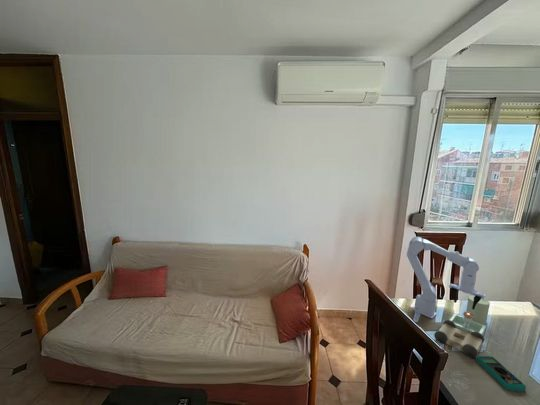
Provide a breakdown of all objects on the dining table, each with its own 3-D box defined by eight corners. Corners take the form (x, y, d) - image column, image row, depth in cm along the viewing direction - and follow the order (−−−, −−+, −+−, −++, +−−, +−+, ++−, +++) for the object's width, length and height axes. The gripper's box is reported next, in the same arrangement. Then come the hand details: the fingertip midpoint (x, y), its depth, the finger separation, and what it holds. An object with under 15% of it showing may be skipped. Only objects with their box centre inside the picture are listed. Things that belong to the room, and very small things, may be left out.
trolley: (433, 339, 116) (435, 329, 115) (443, 326, 126) (444, 318, 125) (476, 360, 104) (477, 349, 103) (483, 344, 113) (485, 335, 113)
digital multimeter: (507, 392, 90) (508, 385, 89) (474, 360, 104) (475, 354, 104) (527, 393, 90) (528, 386, 89) (491, 361, 104) (492, 355, 104)
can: (491, 324, 128) (495, 304, 126) (474, 324, 128) (477, 303, 126) (477, 314, 137) (480, 294, 135) (460, 313, 137) (463, 294, 136)
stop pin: (459, 328, 123) (462, 313, 122) (461, 325, 126) (464, 310, 124) (469, 333, 120) (472, 317, 119) (471, 329, 123) (474, 314, 121)
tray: (447, 327, 125) (448, 321, 125) (453, 319, 132) (454, 313, 131) (479, 341, 115) (481, 335, 115) (484, 332, 122) (485, 326, 122)
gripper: (449, 278, 128) (445, 301, 130) (484, 289, 117) (480, 314, 119) (452, 274, 133) (449, 297, 135) (487, 285, 122) (483, 309, 124)
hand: (464, 305), depth 127 cm, fingers open, 7 cm apart
